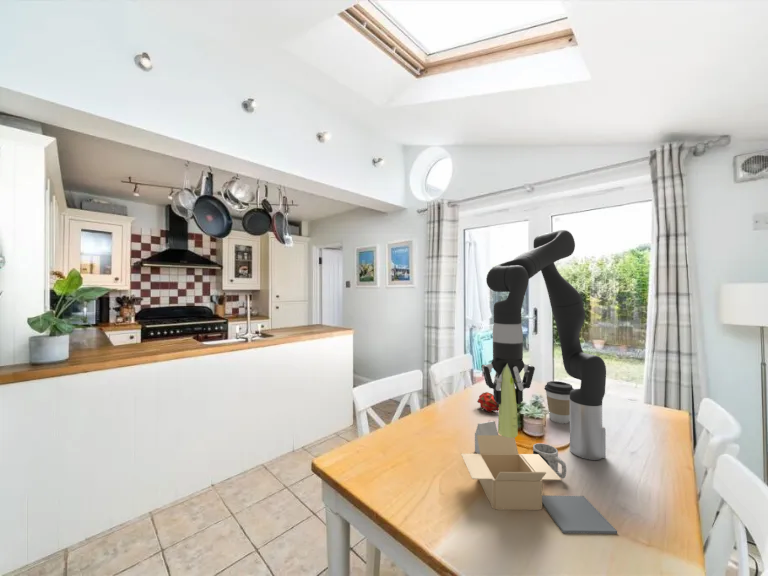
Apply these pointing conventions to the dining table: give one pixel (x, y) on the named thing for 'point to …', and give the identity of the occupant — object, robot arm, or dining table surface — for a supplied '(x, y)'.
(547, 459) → the mug
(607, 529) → the mat
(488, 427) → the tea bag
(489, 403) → the dragon fruit
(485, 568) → the dining table surface
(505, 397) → the light green tall cone
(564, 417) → the coffee cup
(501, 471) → the carton
